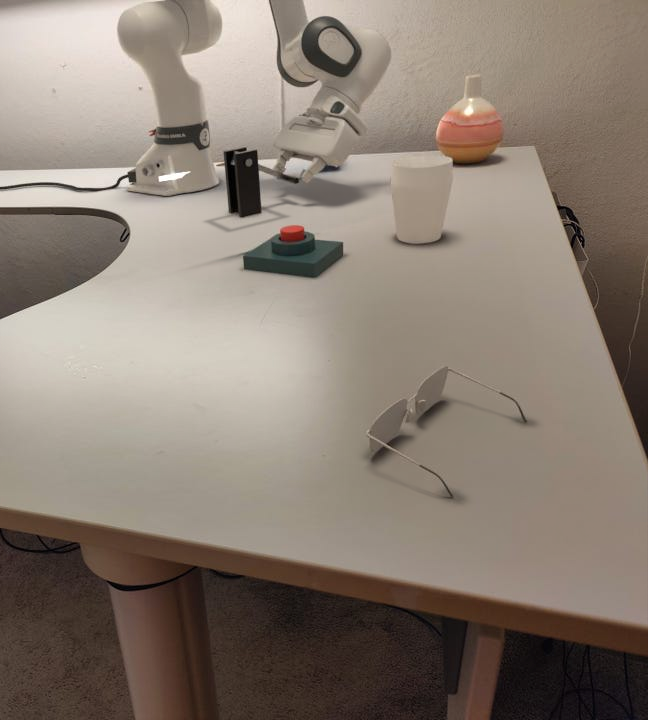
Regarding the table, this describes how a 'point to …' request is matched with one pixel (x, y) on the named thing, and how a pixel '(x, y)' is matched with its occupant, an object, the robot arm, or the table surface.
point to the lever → (273, 173)
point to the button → (292, 233)
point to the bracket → (243, 182)
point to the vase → (470, 126)
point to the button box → (294, 256)
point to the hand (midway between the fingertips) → (289, 176)
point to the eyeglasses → (424, 399)
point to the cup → (421, 196)
